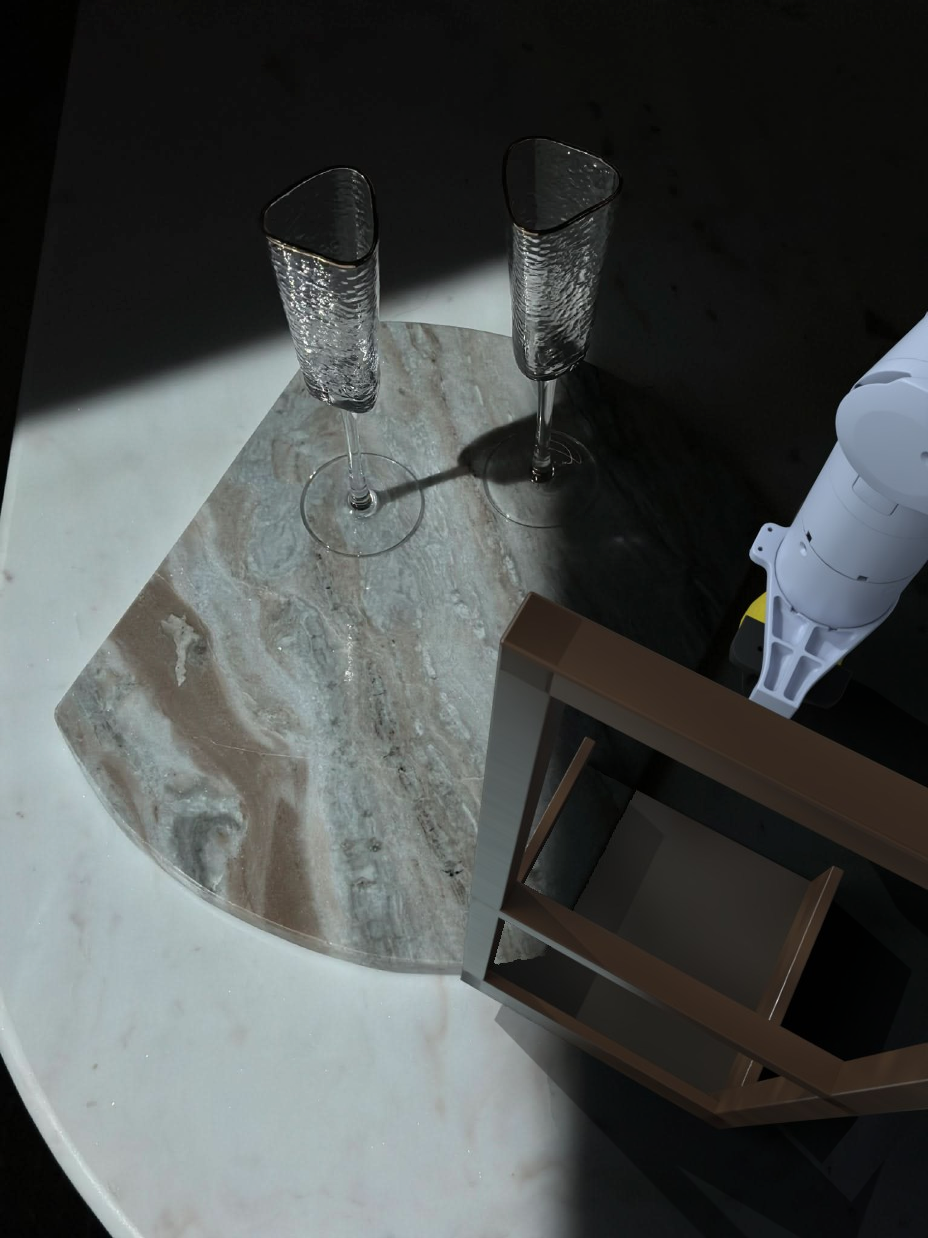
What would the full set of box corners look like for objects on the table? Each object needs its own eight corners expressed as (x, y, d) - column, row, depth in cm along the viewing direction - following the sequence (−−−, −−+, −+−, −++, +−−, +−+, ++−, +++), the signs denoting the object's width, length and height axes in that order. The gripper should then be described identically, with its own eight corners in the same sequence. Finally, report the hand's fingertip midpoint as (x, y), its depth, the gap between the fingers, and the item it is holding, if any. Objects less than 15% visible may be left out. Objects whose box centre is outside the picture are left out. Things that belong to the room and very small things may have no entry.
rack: (577, 760, 63) (788, 152, 25) (820, 887, 60) (1475, 426, 22) (459, 979, 58) (497, 641, 20) (719, 1129, 55) (1338, 1072, 17)
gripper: (841, 369, 53) (767, 517, 66) (716, 616, 48) (660, 727, 60) (987, 432, 52) (883, 571, 64) (875, 693, 47) (785, 791, 59)
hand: (783, 650), depth 62 cm, fingers closed on lemon, 5 cm apart
